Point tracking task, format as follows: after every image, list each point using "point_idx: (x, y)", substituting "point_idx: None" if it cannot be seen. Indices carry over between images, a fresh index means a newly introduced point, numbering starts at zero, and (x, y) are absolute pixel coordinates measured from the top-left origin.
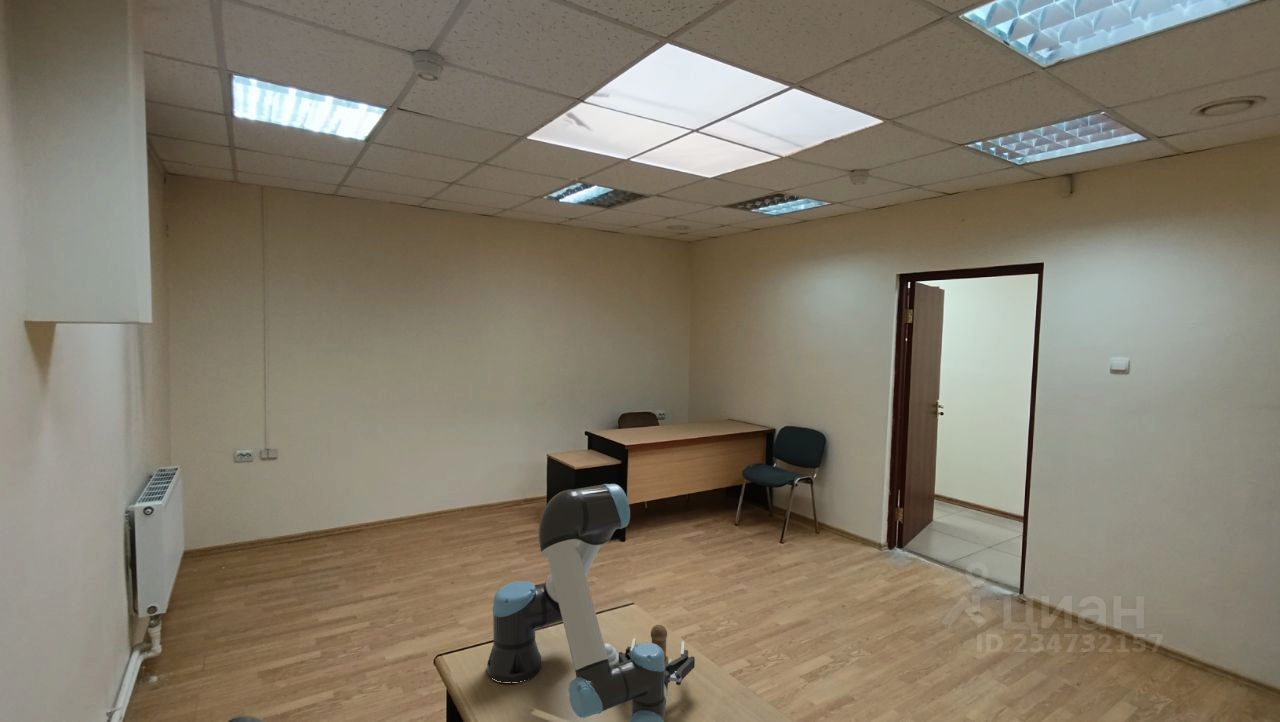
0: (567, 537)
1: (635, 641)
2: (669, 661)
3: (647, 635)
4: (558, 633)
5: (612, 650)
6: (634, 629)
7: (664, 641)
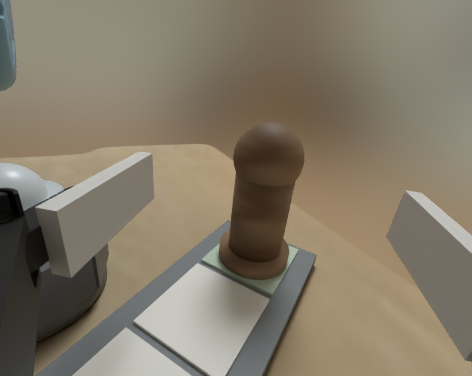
0: None
1: (144, 167)
2: (290, 255)
3: (230, 182)
4: (41, 158)
5: (22, 197)
6: (205, 170)
7: (289, 188)
